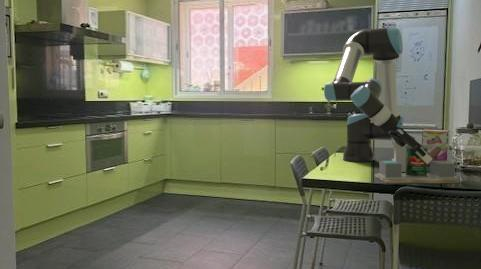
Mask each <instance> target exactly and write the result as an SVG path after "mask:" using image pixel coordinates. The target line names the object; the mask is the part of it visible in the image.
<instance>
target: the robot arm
mask: <svg viewBox="0 0 481 269" xmlns="http://www.w3.org/2000/svg"><path fill="white" fill-rule="evenodd" d="M403 45H404V44H403V38H402V33H401V30H400V29H398V28H396V27H381V28H371V29H370V28H369V29H368V28H366V29H362V30H359V31H357V32H355V33H354V34H352V35H351V36H350V37H349V38H348V39H347V40H346V41H345V43H344V45H343V48H342V56H341V59H340V61H339V65H338V68H337V70H336V73H335V75H334V78H333V81H331V82H330V81H329V82H327V83H325V84H324V88H323V91H324V92H323V94H324V98H325V100H327V101H333V102H347V101H349V102H352V103H353V104H354V106H355V107H357V108H358V109H359V110H360V111H361V112H362V113H358V114H352V115H349V116H348V117H347V123H346V135H347V136H346V146H345V149H344V152H343V156H342V159H343V160H344V161H346V162H354V163H355V162H358V163H361V162H362V163H364V162H365V163H366V162H367V163H368V162H374V161H375V154H374V151H373V147H372V145H371V144H372V142H371V141H373V140H374V141H375V140H378V141H390V142H392V139H394V140H395V142H396V143H397V144H398V145H400V146H401V147H402V146H403V147H402V148H403V149H404V150H405V151H406V146H410V147H411V148H412V149H413V150H414V151H413V152H414V153H415V152H416V153H417V154H418V156H419V157H420V158H421V159H422V160H423V161H424V162H425V163H426V164H428V163H429V162H430V161H431V160H432V158H431V157H430V156H429V155H428V154H427V153H426V152H425V150H424V149H423V148H422V147H421V146H422V143H421V144H420V143H419V142H418V141H417V140H416V138H415V139H413V138H412V137H411V136H412V135H410V134H409V133H408V132H407V131H406V130H404V128H403V127H404V116H402V115H401V111H399V110H398V107H397V67H396V66H397V61H398V59H399V58H400V55H401V54H403V50H404V48H403ZM364 56H372V60H373V61H374V62H375V63H376V64H375V65H376V78H375V77H374V78H368V79H367V80H365V81H355V82H354V81H353V80H354V78H355V74H356V71H357V69H358V65H359V62H360V60H361V59H362V58H363V57H364ZM373 160H374V161H373Z"/></svg>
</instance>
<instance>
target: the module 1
mask: <svg viewBox="0 0 481 269" xmlns="http://www.w3.org/2000/svg"><path fill="white" fill-rule="evenodd" d="M378 164H379V165H378V167H379V168H378V173H379V174H381V175H383V176H384V177H401V175H402V164H401V163H398V162H396V161H392V160H379V161H378Z"/></svg>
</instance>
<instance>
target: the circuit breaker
mask: <svg viewBox="0 0 481 269" xmlns="http://www.w3.org/2000/svg"><path fill="white" fill-rule="evenodd" d="M410 136H411V137H412V138H413V139H415V140H416V138H415V137H414V136H413V135H410ZM421 145H422V144H421ZM391 146H392V148H393V158H391V161H396V162H398V163H401V164H402V172H405V167H406V166H405V165H406V151H405V150H404V149H403V148H402V147H403V146H402V147H401V146H400V145H398V144H397V143H396V142H395V140H394V139H392V140H391ZM422 146H424V145H422ZM428 155H429V153H428Z"/></svg>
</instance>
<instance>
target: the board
mask: <svg viewBox="0 0 481 269" xmlns="http://www.w3.org/2000/svg"><path fill="white" fill-rule="evenodd" d="M374 176H375V177H377V178H379V179H380V180H382V181H384V182H386V183H385V184H461V183H462V181H461V179H459V178H458V179H431V180H383V179H382V178H380V177H378V176H376V173H375V174H374ZM375 177H374V178H375ZM377 178H376V179H377ZM379 179H378V180H379ZM380 180H379V181H380ZM382 181H381V182H382ZM384 182H383V183H384ZM387 182H388V183H387Z"/></svg>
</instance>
